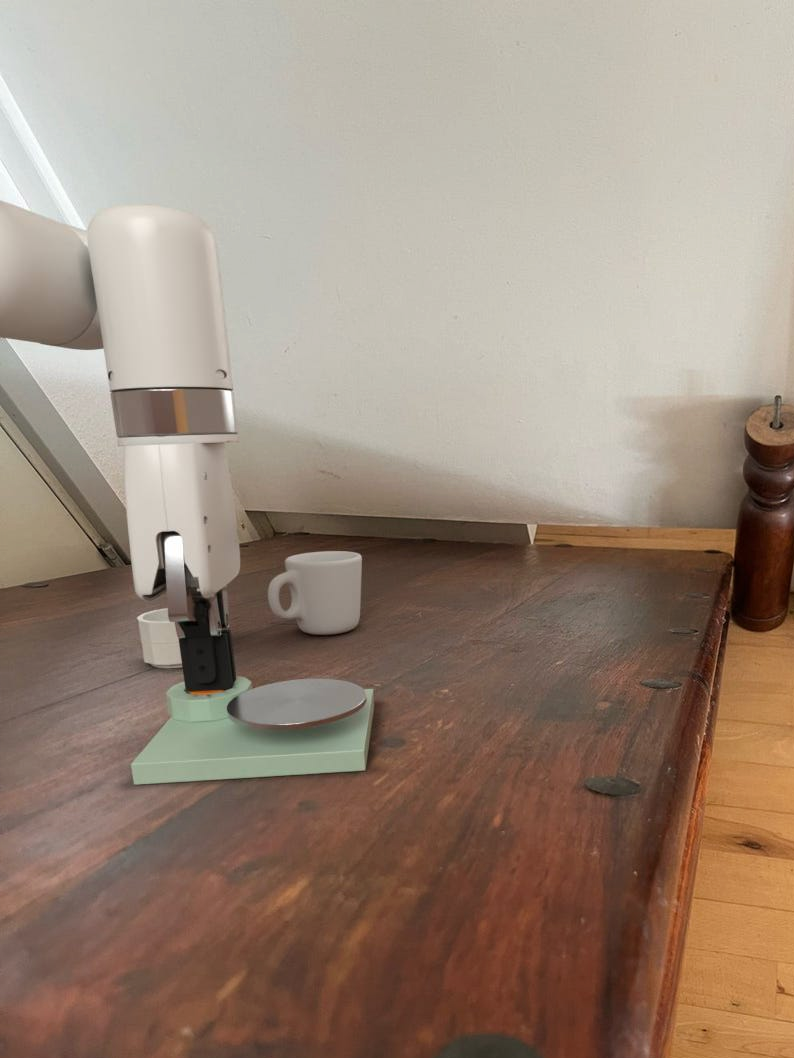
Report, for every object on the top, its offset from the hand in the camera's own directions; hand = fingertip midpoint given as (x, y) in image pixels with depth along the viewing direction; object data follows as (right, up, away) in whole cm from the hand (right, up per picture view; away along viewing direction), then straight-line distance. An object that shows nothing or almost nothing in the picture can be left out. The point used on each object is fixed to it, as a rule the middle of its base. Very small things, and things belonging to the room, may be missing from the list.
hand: (211, 686), depth 55 cm
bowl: (-9, +1, +18) cm, 20 cm away
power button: (0, -1, 0) cm, 1 cm away
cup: (+2, +4, +27) cm, 27 cm away
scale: (+5, -4, -2) cm, 6 cm away
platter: (+7, -1, -4) cm, 8 cm away
